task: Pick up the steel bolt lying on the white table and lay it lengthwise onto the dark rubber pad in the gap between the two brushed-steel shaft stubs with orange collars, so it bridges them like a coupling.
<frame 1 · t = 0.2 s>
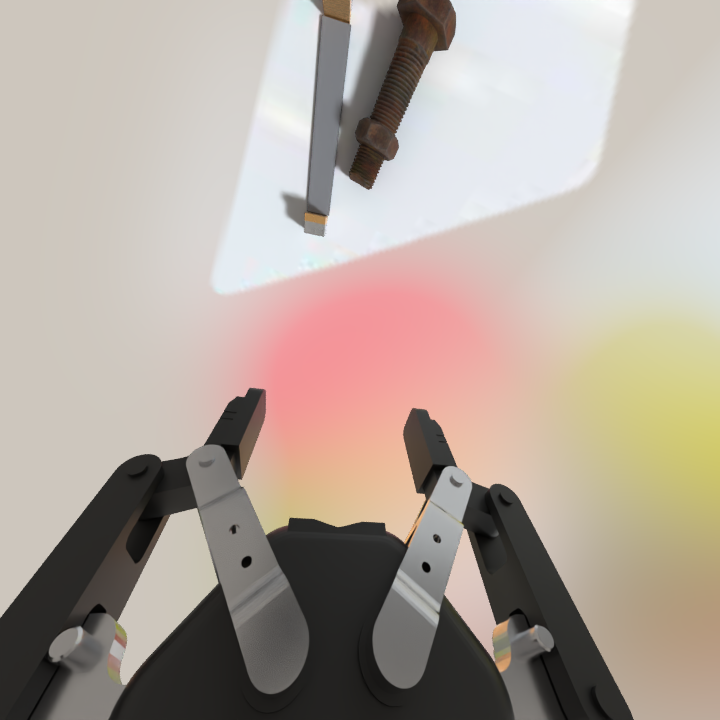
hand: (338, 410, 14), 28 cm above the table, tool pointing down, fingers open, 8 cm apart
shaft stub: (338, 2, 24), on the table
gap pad: (326, 131, 29), on the table
bolt: (386, 113, 29), on the table
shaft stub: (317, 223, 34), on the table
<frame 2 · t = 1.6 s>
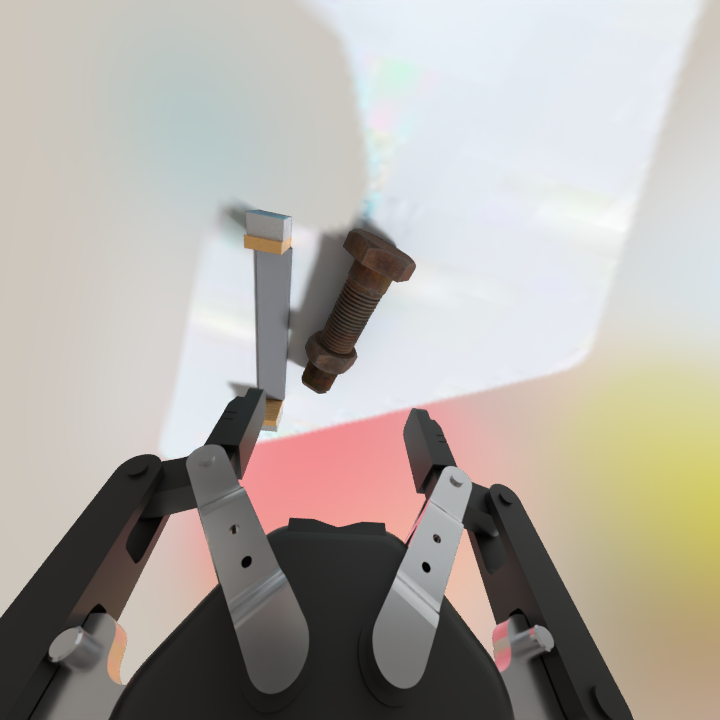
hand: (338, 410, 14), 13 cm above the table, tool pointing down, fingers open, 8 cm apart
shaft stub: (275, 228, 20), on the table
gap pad: (273, 334, 25), on the table
bolt: (344, 314, 25), on the table
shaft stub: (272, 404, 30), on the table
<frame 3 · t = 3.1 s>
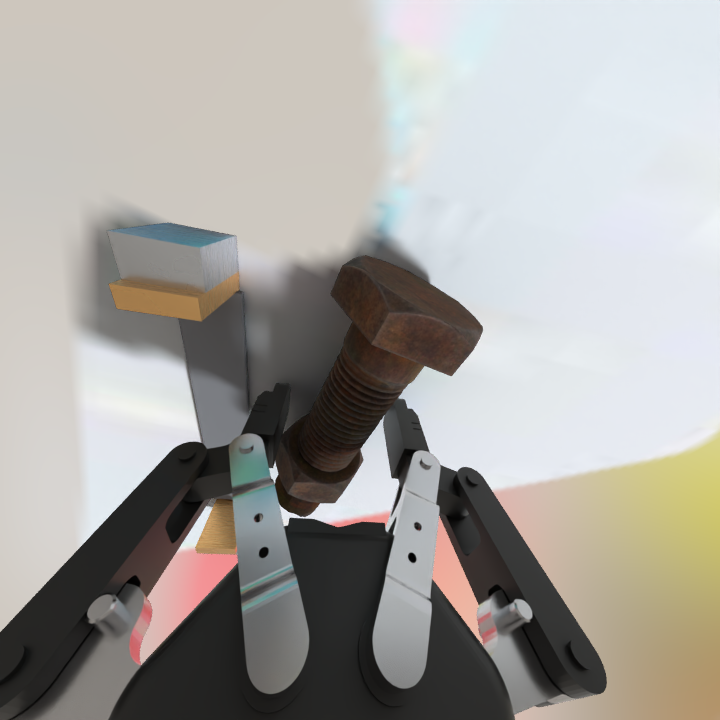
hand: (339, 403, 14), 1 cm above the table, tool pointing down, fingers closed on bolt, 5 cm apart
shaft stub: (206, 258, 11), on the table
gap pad: (225, 420, 15), on the table
bolt: (339, 389, 15), on the table, touching gripper
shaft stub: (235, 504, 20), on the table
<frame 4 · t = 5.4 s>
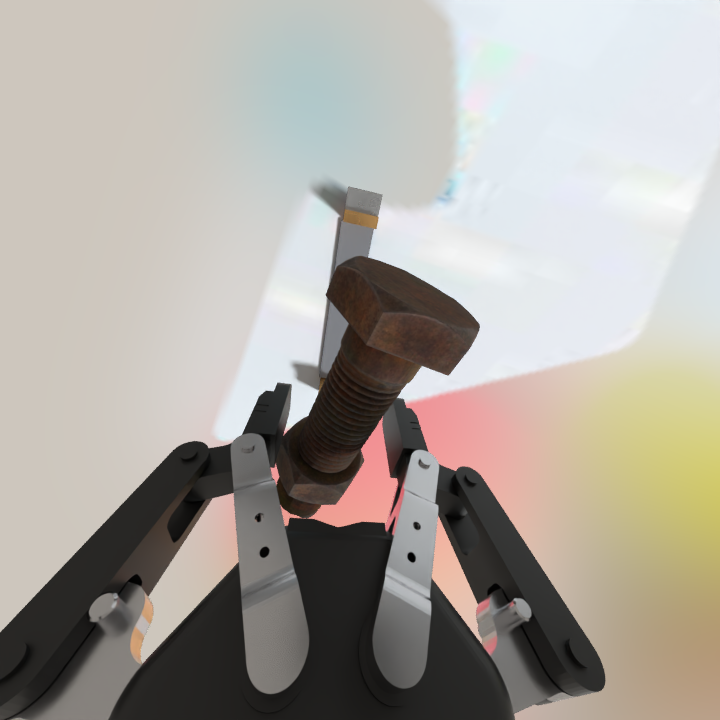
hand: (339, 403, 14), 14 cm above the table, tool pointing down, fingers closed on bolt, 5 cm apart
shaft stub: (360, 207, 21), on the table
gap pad: (342, 313, 26), on the table
bolt: (339, 390, 15), point 13 cm above the table, touching gripper
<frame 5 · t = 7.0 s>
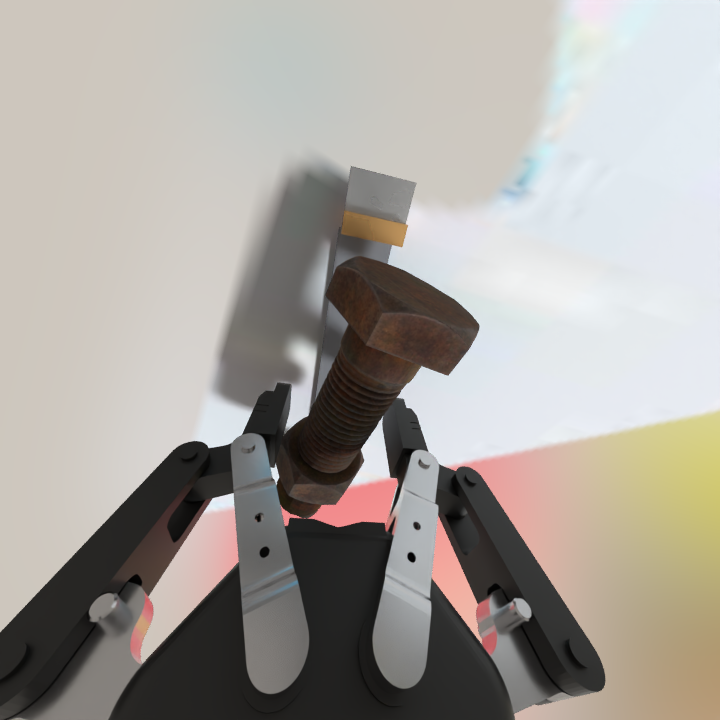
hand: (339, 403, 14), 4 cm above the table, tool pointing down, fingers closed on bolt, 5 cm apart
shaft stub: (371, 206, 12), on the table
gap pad: (340, 364, 17), on the table
bolt: (338, 390, 15), point 3 cm above the table, touching gripper
when the fingers open (2 cm above the table, at t = 7.9 s): bolt drops 1 cm, resting on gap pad.
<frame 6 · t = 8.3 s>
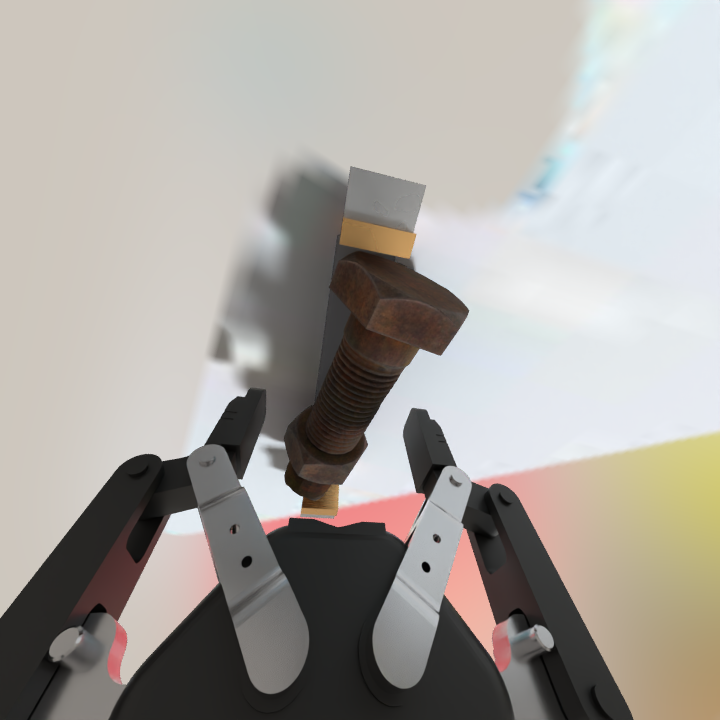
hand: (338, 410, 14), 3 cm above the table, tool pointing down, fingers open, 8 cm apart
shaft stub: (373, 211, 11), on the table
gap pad: (340, 381, 16), on the table
bolt: (342, 379, 16), resting on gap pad
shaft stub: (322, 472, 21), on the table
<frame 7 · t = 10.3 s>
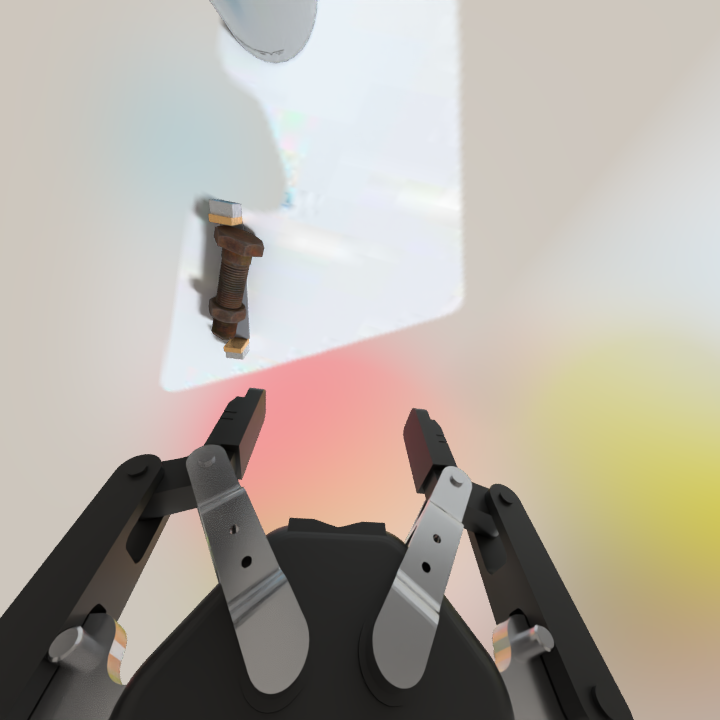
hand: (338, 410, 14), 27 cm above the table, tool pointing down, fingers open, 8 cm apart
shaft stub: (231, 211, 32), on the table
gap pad: (236, 286, 37), on the table
bolt: (237, 284, 37), resting on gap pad
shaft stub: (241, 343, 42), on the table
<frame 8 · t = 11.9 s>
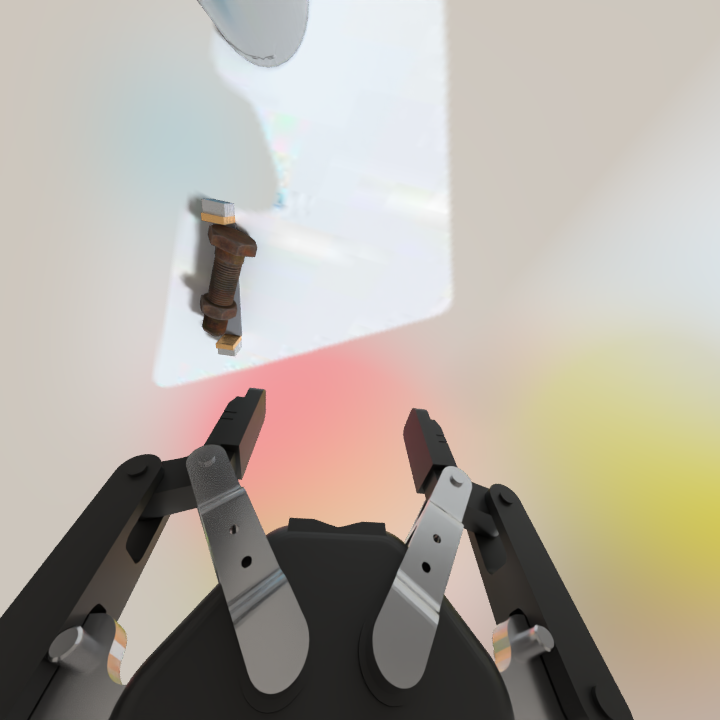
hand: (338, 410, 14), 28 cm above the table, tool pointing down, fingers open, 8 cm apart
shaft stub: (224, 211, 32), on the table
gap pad: (229, 284, 37), on the table
bolt: (229, 282, 37), resting on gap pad
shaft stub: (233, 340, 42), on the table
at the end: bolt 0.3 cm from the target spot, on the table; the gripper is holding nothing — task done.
